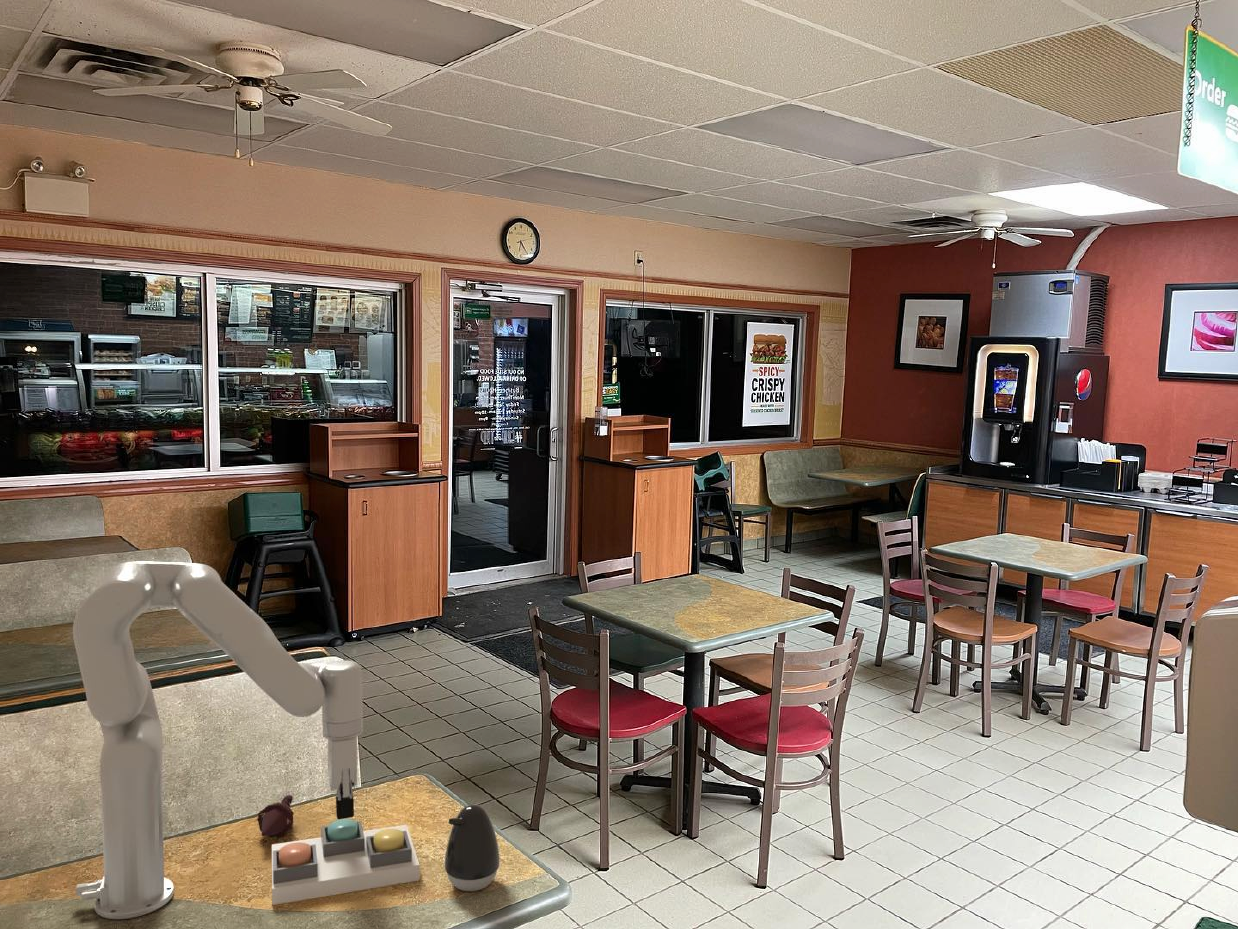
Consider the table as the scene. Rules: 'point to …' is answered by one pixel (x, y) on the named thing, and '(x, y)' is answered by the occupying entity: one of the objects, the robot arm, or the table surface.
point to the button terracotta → (294, 855)
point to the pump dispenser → (472, 850)
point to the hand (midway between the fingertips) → (345, 816)
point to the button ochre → (388, 840)
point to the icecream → (276, 818)
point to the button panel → (343, 867)
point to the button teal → (342, 830)
